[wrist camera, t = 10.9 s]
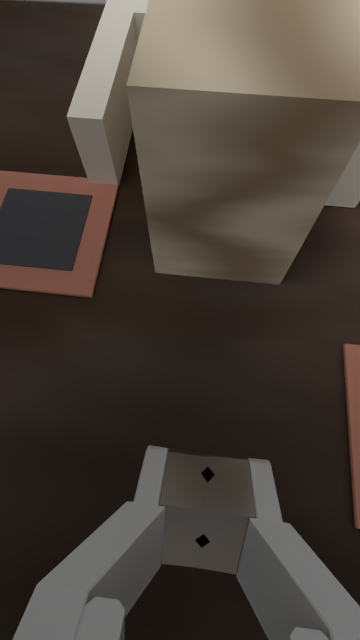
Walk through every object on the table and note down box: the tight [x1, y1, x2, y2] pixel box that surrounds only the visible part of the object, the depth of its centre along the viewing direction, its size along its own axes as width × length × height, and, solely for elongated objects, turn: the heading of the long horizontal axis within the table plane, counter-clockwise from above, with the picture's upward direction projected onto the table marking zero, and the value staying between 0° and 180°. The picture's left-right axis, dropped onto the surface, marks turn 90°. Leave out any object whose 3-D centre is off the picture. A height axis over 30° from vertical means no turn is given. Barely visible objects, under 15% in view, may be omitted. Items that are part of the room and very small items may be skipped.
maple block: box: [126, 0, 360, 285], centre depth 14 cm, size 6×12×9 cm, turn 173°
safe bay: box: [66, 0, 360, 208], centre depth 18 cm, size 14×10×4 cm
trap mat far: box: [0, 171, 119, 298], centre depth 17 cm, size 7×7×1 cm
